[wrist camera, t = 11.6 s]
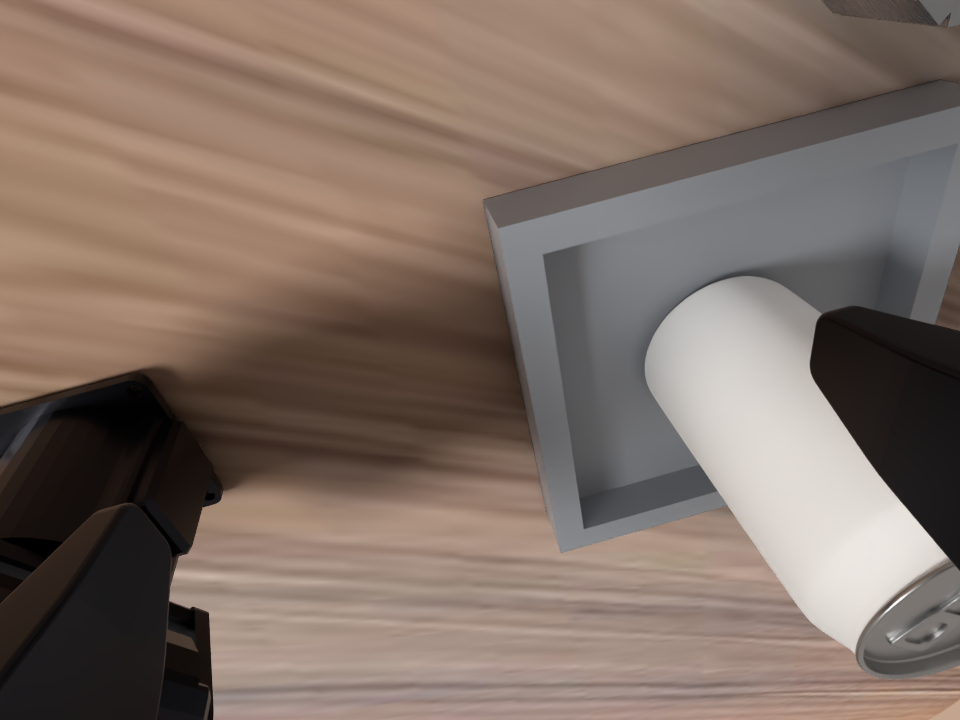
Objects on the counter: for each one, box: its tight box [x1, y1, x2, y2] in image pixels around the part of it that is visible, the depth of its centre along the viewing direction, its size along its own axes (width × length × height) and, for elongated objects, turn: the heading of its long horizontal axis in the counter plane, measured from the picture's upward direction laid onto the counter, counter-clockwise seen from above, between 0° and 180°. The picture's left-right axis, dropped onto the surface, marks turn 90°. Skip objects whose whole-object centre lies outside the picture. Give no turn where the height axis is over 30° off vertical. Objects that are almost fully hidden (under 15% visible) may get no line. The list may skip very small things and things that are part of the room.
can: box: [645, 276, 960, 679], centre depth 19 cm, size 6×6×12 cm
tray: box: [483, 80, 960, 553], centre depth 23 cm, size 16×16×2 cm
